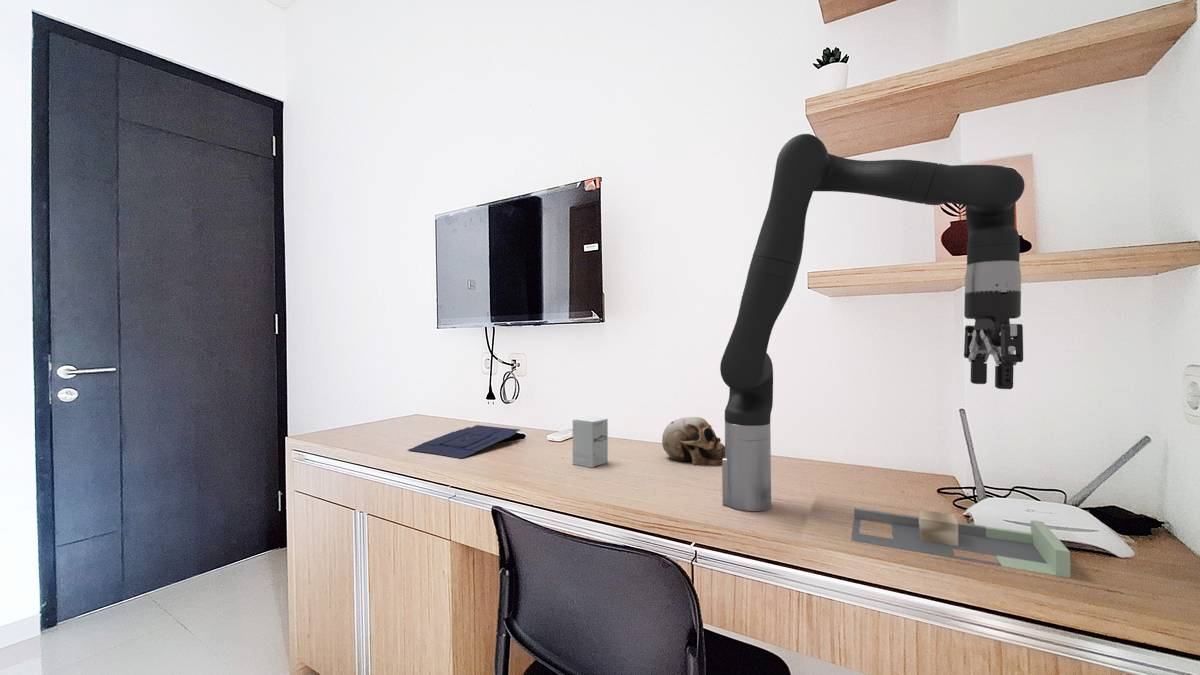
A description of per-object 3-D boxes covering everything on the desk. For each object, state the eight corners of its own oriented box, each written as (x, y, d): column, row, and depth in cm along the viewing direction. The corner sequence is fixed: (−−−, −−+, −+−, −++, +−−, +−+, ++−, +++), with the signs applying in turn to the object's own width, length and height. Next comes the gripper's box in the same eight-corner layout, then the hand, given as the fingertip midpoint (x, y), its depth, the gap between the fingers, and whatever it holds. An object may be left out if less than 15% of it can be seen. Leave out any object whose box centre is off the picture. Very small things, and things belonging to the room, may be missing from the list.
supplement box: (592, 468, 136) (592, 421, 136) (571, 464, 140) (571, 419, 140) (608, 462, 141) (608, 418, 142) (588, 459, 146) (587, 416, 146)
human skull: (737, 463, 139) (731, 415, 139) (679, 474, 135) (673, 425, 135) (712, 453, 154) (706, 410, 154) (659, 463, 150) (654, 418, 150)
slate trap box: (851, 549, 82) (851, 519, 82) (854, 524, 93) (854, 497, 93) (1070, 588, 69) (1070, 551, 69) (1043, 553, 80) (1042, 521, 80)
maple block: (921, 540, 82) (920, 518, 82) (918, 530, 86) (918, 509, 86) (958, 546, 79) (958, 524, 79) (954, 535, 84) (953, 514, 84)
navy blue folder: (526, 437, 173) (525, 427, 173) (463, 467, 147) (462, 455, 147) (473, 431, 185) (473, 422, 185) (407, 458, 159) (406, 447, 159)
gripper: (948, 294, 92) (947, 381, 92) (987, 286, 79) (985, 389, 79) (996, 293, 90) (995, 383, 91) (1044, 286, 77) (1042, 391, 77)
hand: (990, 386), depth 85 cm, fingers open, 8 cm apart
